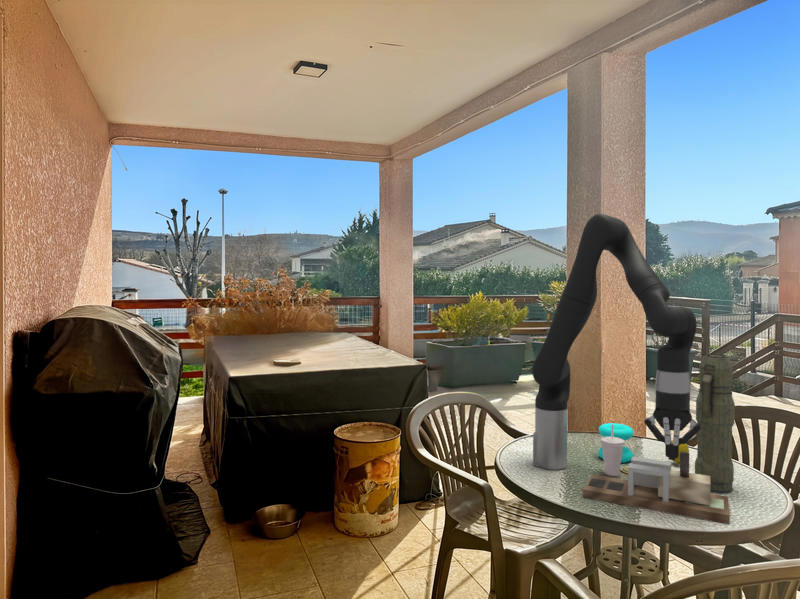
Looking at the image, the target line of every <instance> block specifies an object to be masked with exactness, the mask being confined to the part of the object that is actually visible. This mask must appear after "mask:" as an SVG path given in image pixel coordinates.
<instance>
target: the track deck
mask: <svg viewBox="0 0 800 599" xmlns="http://www.w3.org/2000/svg"><path fill="white" fill-rule="evenodd" d="M585 497H586V498H587V499H591V500H596V499H597V501H601V502H609V503H613V504H619V505H623V506H630V507H634V508H640V509H644V510H650V511H657V512H661V513H666V514H667V513H668V514H673V515H678V516H683V517H688V518H693V519H699V520H704V519H706V520H705V521H710V520H712V521H711V522H715V521H717V522H716V523H721V522H722V524H726V523H728V524H727V525H730V521H731V520H730V517H731V516H730V506H729V505H730V504H729V496H725V495H720V494H716V493H710V505H705V504H699V503H693V502H687V501H682V500H676V499H670V498H669V502H664V501H663V497H659V496H658V489H657V488H651V487H645V486H639V485H634V495H633V496H630V495H628V479H623V478H616V477H611V476H606V475H605V476H604V475H597V474H593V473H592V474H590V476H589V478H588V480H587V482H586V483H585V485H584V486H583V488H582V498H585Z"/></svg>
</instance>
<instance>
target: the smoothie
mask: <svg viewBox="0 0 800 599" xmlns="http://www.w3.org/2000/svg"><path fill="white" fill-rule="evenodd" d="M613 435H614V424H612V426H611V437H603V436H602V437H601V438H600V444H601V447H602V450H603V458H604V459H603V464H604V473H605V475H607V476H610V477H611V476H612V477H616V476H617V477H618V476H620V471H621V464H622V463H621V458H622V451H623V446H625V440H623V439H620V438H617V437H613Z"/></svg>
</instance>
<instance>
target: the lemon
mask: <svg viewBox="0 0 800 599" xmlns="http://www.w3.org/2000/svg"><path fill="white" fill-rule="evenodd" d="M671 443H673V439H671ZM687 443H688V442H687ZM687 443H686V444H680V445H679V455H678V458H675V460H672V462H675V464H676V465H679V466H680V452H687V453H689V454H690V450H689V449H690V448H689V446H688V444H687Z"/></svg>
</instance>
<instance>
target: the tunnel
mask: <svg viewBox="0 0 800 599" xmlns="http://www.w3.org/2000/svg"><path fill="white" fill-rule="evenodd" d="M670 470H672V461H668V460H661V459H656V458H655V459H652V458H647V457H640V456H633V457H632V459H631V461H630V463H629V464H628V466H627V480H628V495H630V496H633V495H634V485H639V486H645V487H651V488H657V489H658V476H662V477H663V501H664V502H669V474H670Z"/></svg>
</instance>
